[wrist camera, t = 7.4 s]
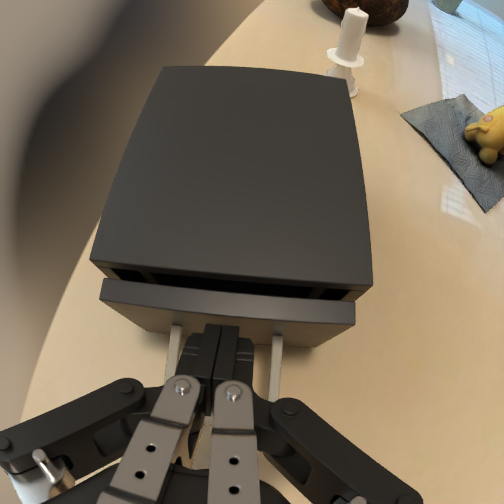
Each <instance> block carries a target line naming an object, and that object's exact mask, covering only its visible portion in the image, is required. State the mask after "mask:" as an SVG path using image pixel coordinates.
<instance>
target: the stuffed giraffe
mask: <svg viewBox="0 0 504 504" xmlns="http://www.w3.org/2000/svg"><path fill="white" fill-rule="evenodd" d="M401 115H402V116H403V118H404V119H405V120H407V121H408V122H409V123H410V124H412V125H414V126H415V127H416V128H417V129H418V130H420V131H421V132H422V133H424V135H425V136H426V137H427V138H428V139H429V141H430V142H431V143H432V145H433V146H434V147H435V148H436V149H437V150H438V151H439V152H440V153H441V154H442V155H443V156H444V157H445V158H446V159H447V160H448V162H449V163H450V165H451V166H452V167H453V169H454V170H455V171H456V172H457V173H458V175H459V177H460V178H461V179H463V181H464V184H465V186H466V187H467V188H468V189H469V190H470V191H471V193H472V194H473V195H474V196H475V198H476V200H477V201H478V203H479V204H480V205H481V207H482V208H483V209H484V210H485V212H488V211H489V210H490V209H491V208H492V207H493V206H494V205H495V204H496V203H497V202H498V201H499V200H500V199H501V198H502V197H503V196H504V105H503V106H501V107H498V108H496V109H494V110H492V111H491V112H489V113H487V114H486V115H485V114H484V113H483V112H481V111H480V110H478V108H477V107H476V106H474V104H473V103H471V102H470V101H469V100H468V99H467V97H466V96H465V95H464V94H462V95H460V96H458V97H456V98H452V99H445V100H441V101H438V102H435V103H431V104H427V105H424V106H421V107H419V108H416V109H413V110H411V111H408V112H404V113H402V114H401Z"/></svg>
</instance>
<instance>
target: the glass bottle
mask: <svg viewBox="0 0 504 504" xmlns="http://www.w3.org/2000/svg"><path fill="white" fill-rule="evenodd" d="M322 2H323V3H324V4H325V5H326V6H327V7H328V8H329V9H330V10H331V11H332V12H334V13H336V14H337V15H339V16H341V17H343V18H344V14H345V11H346V9H348V8H358V7H359V9H360V10H362V11H363V12H365V13H367V14H368V20H367V24H366V25H372V26H380V25H387V24H390V23H392V22H394V21H396V20H398V19H399V18H401V17H402V16H403V15H404V13H405V12H406V10H407V8H408V3H409V0H322Z"/></svg>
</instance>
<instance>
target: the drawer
mask: <svg viewBox="0 0 504 504" xmlns="http://www.w3.org/2000/svg"><path fill="white" fill-rule="evenodd" d="M139 272H140V274H141V275H142V276H143V277H144V279H145V280H146V281H147V282H148V283H142V282H134V281H126V280H118V279H110V278H104V279H103V284H102V288H101V293H100V298H99V300H101V301H102V302H104V303H105V304H106V305H108V306H109V307H111V308H112V309H114V310H115V311H117V312H118V313H120V314H121V315H123V316H124V317H126V318H127V319H129V320H131V321H132V322H134V323H135V324H137V325H138V326H140V327H142V328H143V329H145V330H146V331H150V332H157V333H164V334H170V341H169V349H168V357H167V365H166V373H165V382H164V385H165V383H166V381H167V380H168V379H169V378H171V377H172V376H174V375H175V372H176V369H177V366H178V362H179V354H180V346H181V338H182V336H186V337H189V336H190V335H192V334H193V333H202V334H203V332H204V329H205V325H206V323H211V324H220V325H222V326H223V325H231V326H239V337H242V338H250V339H251V341H252V342H253V344H265V345H272V348H271V361H270V374H269V386H268V399H267V401H270V402H275V401H277V400H278V399H279V389H280V375H281V361H282V347H283V346H295V347H317V346H319V345H321V344H322V343H324V342H326V341H328V340H330V339H331V338H333V337H335V336H337V335H338V334H340V333H342V332H344V331H345V330H347V329H349V328H351V327H352V326H354V325H355V302H354V301H340V300H324V299H318V298H319V297H320V296H321V294H322V293H323V292H324V291H325V290H326V288H316V287H303V286H290V285H278V284H266V283H254V282H243V281H232V280H221V279H211V278H200V277H190V276H181V275H171V274H162V273H153V272H144V271H139ZM204 424H206V425H213V408H212V414H211V417H209V416H205V419H204Z"/></svg>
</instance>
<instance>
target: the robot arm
mask: <svg viewBox="0 0 504 504" xmlns="http://www.w3.org/2000/svg"><path fill="white" fill-rule="evenodd" d="M253 361H254V344H253V342H252V341H251V339H250V338H242V337H239V326H231V325H223V326H222V325H220V324H211V323H206V325H205V329H204V332H203V334H202V333H193V334H192V335H190V336H189V337H188V338H187V340H186V343H185V346H184V348H183V351H182V354H181V357H180V360H179V363H178V366H177V369H176V372H175V375H174V376H172V377H171V378H169V379H168V380H167V381H166V383H165V385H163V386H159V387H151V388H144V386H143V385H142V383H141V382H139V381H138V380H136V379H132V378H122V379H119V380H117V381H114V382H112V383H110V384H108V385H106V386H104V387H102V388H100V389H97V390H95V391H93V392H91V393H89V394H87V395H84V396H82V397H80V398H78V399H76V400H73V401H71V402H69V403H67V404H64V405H62V406H60V407H58V408H55V409H53V410H51V411H49V412H46V413H44V414H42V415H39V416H37V417H35V418H32V419H30V420H27V421H25V422H23V423H20V424H18V425H15V426H13V427H10V428H8V429H5V430H3V431H0V466H1V468H2V469H3V470H4V471H5V472H6V473H7V475H8V476H9V478H10V480H11V482H12V484H13V486H14V488H15V490H16V492H17V494H18V497H19V499H20V501H21V503H22V504H290V502H289V501H288V500H287V499H286V498H285V497H284V496H283V495H282V494H281V493H280V492H279V491H278V490H277V489H275V488H274V487H273V486H271V485H270V484H268V483H266V482H264V481H261V480H259V468H258V452H257V450H259V451H262V452H263V454H264V456H265V457H266V458H267V459H268V461H269V462H270V463H271V464H272V465H273V466H274V467H275V468H276V469H277V470H278V471H279V472H280V473H281V474H282V475H283V476H284V477H285V478H286V479H287V480H288V481H289V482H290V483H291V484H292V485H293V486H294V487H295V488H297V489H298V490H299V491H300V492H301V493H302V494H303V495H304V496H305V497H306V498H307V499H308V500H309V501H310V502H311V503H313V504H423V499H422V497H421V495H420V494H419V493H418V492H417V491H416V490H414V489H413V488H412V487H410V486H409V485H407V484H406V483H405V482H403V481H402V480H400V479H399V478H398V477H396V476H395V475H393V474H392V473H391V472H389V471H388V470H387V469H385V468H384V467H383V466H381V465H380V464H379V463H377V462H376V461H375V460H373V459H372V458H371V457H369V456H368V455H367V454H366V453H364V452H363V451H362V450H360V449H359V448H358V447H357V446H355V445H354V444H353V443H351V442H350V441H349V440H348V439H346V438H345V437H344V436H343V435H341V434H340V433H339V432H338V431H336V430H335V429H334V428H333V427H332V426H330V425H329V424H328V423H327V422H326V421H324V420H323V419H322V418H321V417H320V416H318V415H317V414H316V413H315V412H314V411H312V410H311V409H310V408H309V407H308V406H306V405H305V404H304V403H303V402H301V401H300V400H297V399H294V398H281V399H278V400H277V401H275V402H270V401H267V400H264V399H262V398H261V397H259V396H258V395H257V394H256V393H255V392H254V390H253V387H252V379H253ZM212 408H213V429H212V433H211V448H210V464H209V469H199V470H193V469H192V464H193V460H194V457H195V454H196V450H197V447H198V444H199V440H200V437H201V434H202V426H203V424H204V419H205V416H209V417H211V414H212ZM122 456H123V457H122ZM120 457H122V459H121V461H120V463H117V464H114V465H112V466H110V467H108V468H106V469H104V470H103V471H101V472H99V473H97V474H96V475H94V476H92V477H90V478H88V479H87V480H85V481H83V482H81V483H79V484H77V485H76V486H75V481H76V480H78V479H80V478H82V477H84V476H86V475H88V474H90V473H92V472H94V471H96V470H98V469H100V468H102V467H104V466H106V465H107V464H109V463H111V462H113V461H115V460H117V459H118V458H120Z"/></svg>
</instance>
